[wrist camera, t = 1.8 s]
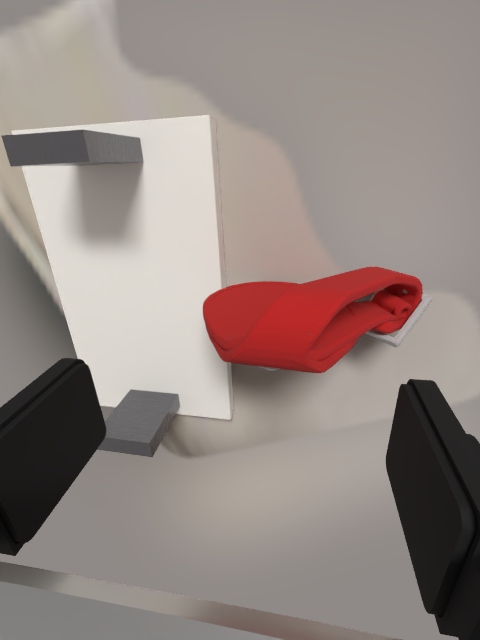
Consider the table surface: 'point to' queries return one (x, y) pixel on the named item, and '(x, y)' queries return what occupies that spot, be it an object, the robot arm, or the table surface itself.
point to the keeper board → (135, 263)
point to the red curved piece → (311, 318)
